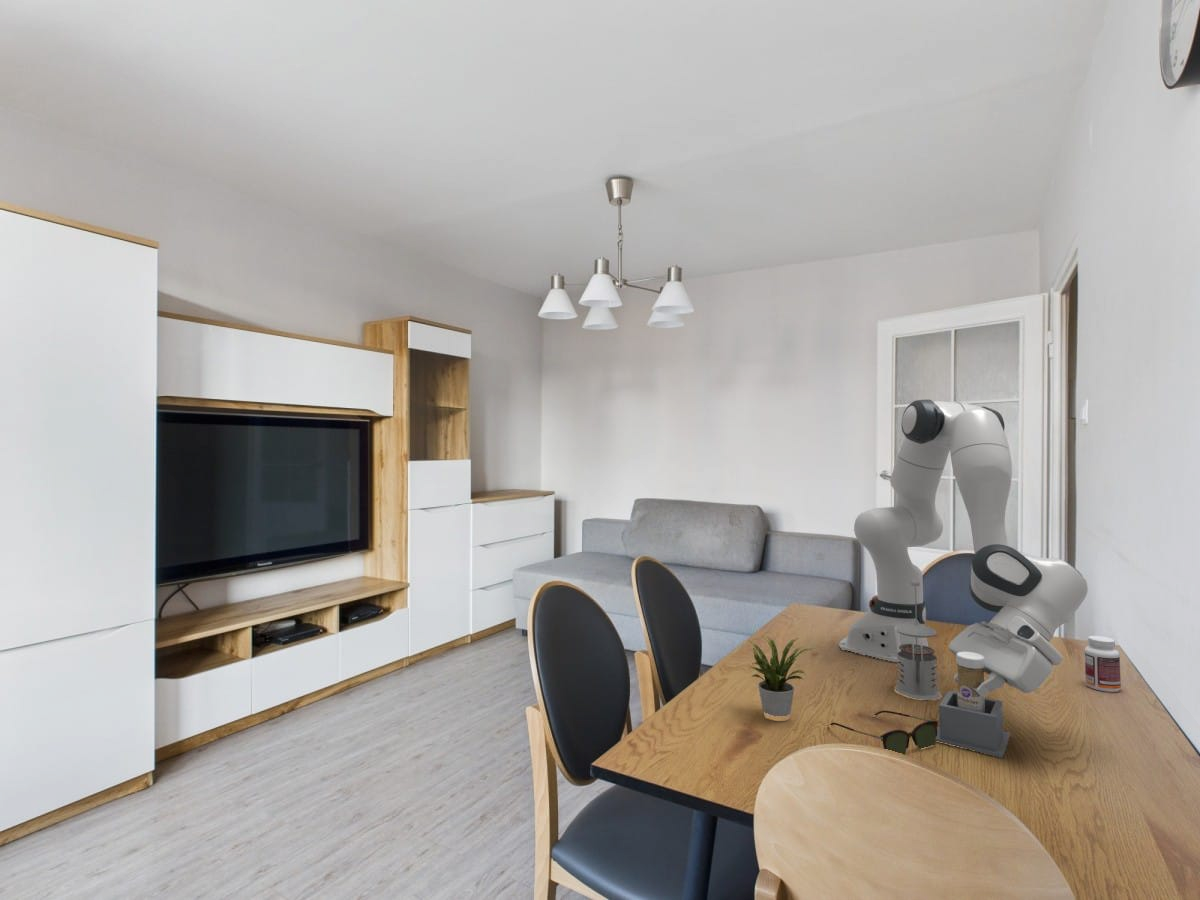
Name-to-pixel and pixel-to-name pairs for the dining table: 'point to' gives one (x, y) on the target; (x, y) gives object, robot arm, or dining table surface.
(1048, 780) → the dining table surface
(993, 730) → the square holder
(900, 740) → the sunglasses
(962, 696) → the sprinkles bottle
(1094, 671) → the pill bottle
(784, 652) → the house plant
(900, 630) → the french press
